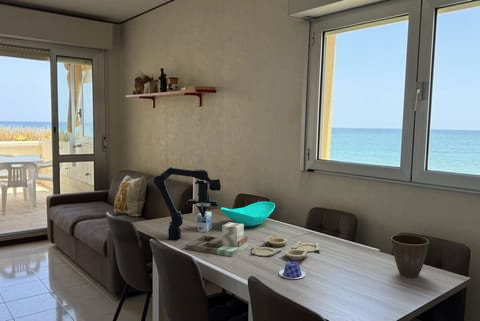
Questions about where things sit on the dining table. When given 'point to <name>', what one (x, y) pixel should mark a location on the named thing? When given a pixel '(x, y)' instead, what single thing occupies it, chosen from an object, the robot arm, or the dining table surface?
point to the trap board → (216, 245)
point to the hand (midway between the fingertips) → (203, 217)
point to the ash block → (232, 233)
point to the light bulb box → (204, 222)
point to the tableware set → (294, 253)
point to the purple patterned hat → (292, 271)
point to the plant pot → (409, 254)
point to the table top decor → (250, 213)
